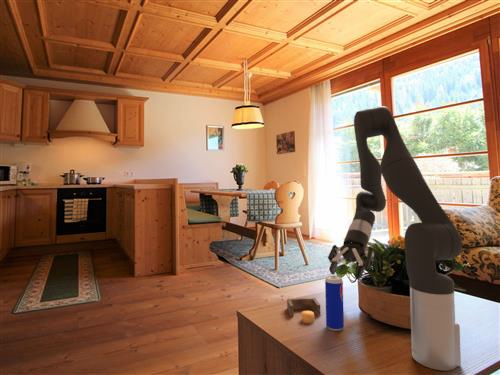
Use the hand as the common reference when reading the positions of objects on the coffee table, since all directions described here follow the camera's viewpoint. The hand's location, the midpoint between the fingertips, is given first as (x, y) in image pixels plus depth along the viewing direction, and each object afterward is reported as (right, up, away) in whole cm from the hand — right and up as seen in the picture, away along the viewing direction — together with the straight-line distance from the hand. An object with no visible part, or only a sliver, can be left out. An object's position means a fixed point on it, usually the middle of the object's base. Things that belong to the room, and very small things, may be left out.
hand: (343, 275), depth 96 cm
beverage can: (-4, -14, -5) cm, 16 cm away
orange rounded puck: (-11, -15, 0) cm, 19 cm away
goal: (-12, -15, +7) cm, 20 cm away
